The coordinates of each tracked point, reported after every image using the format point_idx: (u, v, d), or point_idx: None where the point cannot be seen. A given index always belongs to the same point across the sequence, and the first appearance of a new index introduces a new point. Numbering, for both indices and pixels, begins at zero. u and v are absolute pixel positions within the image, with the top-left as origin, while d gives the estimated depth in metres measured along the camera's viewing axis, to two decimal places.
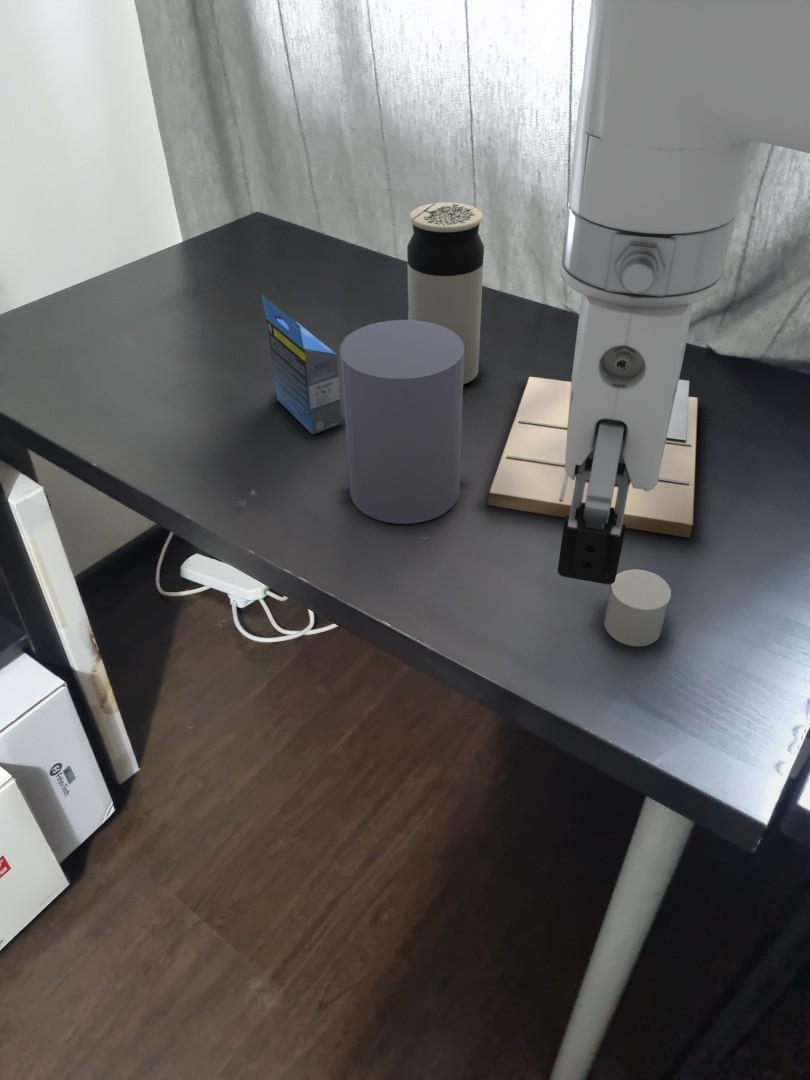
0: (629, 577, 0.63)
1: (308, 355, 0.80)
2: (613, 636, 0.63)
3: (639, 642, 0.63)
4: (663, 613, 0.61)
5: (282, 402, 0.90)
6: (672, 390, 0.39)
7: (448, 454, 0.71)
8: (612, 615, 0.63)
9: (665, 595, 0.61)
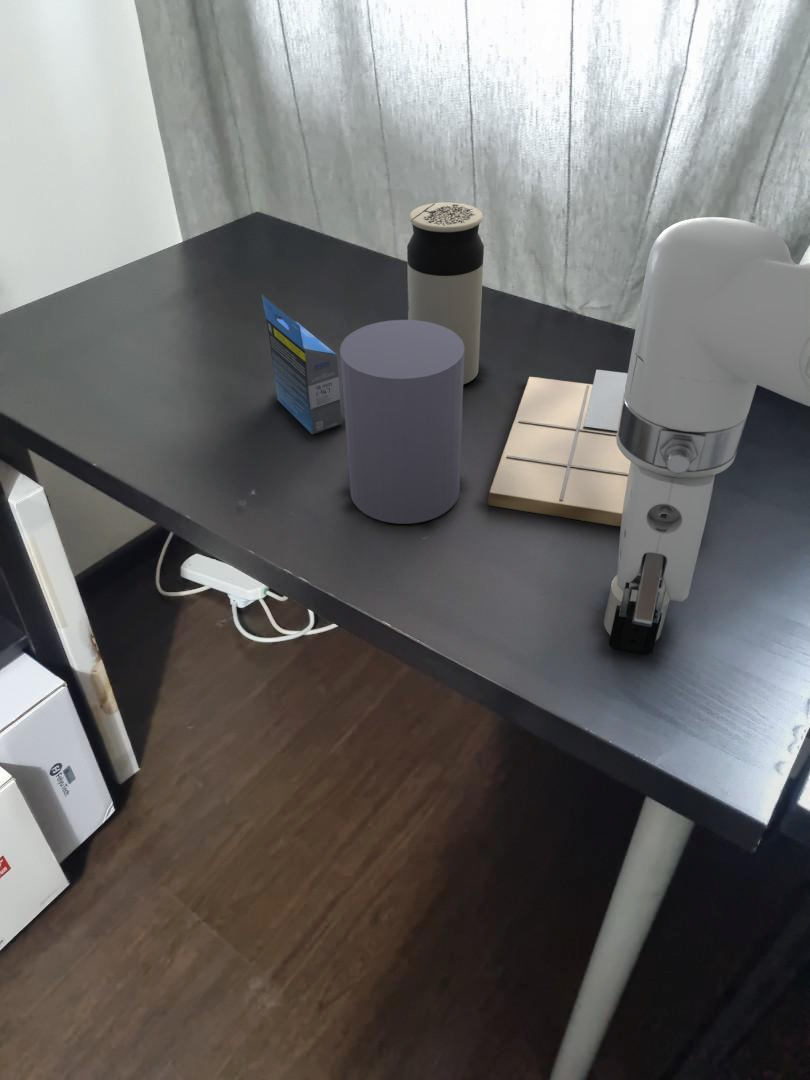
0: None
1: (308, 355, 0.80)
2: None
3: None
4: (663, 613, 0.61)
5: (282, 402, 0.90)
6: (701, 534, 0.52)
7: (448, 454, 0.71)
8: (612, 615, 0.63)
9: (665, 595, 0.61)
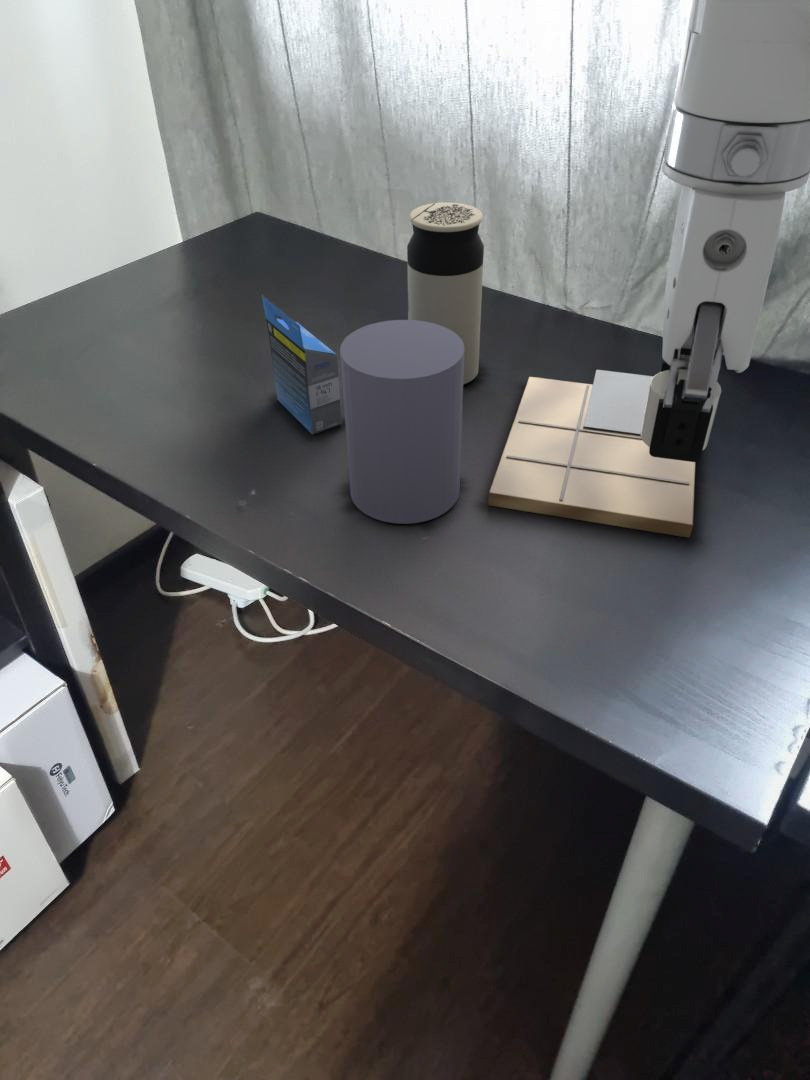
0: None
1: (308, 355, 0.80)
2: None
3: None
4: (712, 411, 0.52)
5: (282, 402, 0.90)
6: (769, 271, 0.43)
7: (448, 454, 0.71)
8: (652, 419, 0.54)
9: None
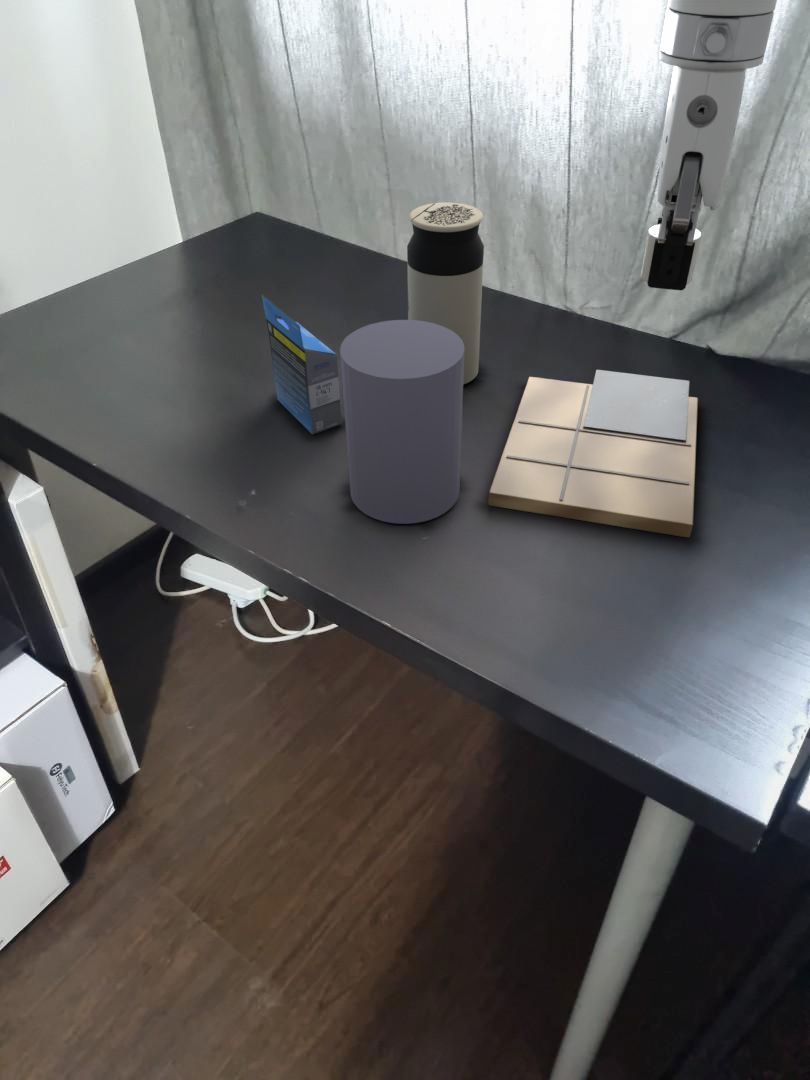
0: None
1: (308, 355, 0.80)
2: None
3: None
4: (694, 250, 0.70)
5: (282, 402, 0.90)
6: (733, 127, 0.61)
7: (448, 454, 0.71)
8: (649, 258, 0.71)
9: (696, 234, 0.70)
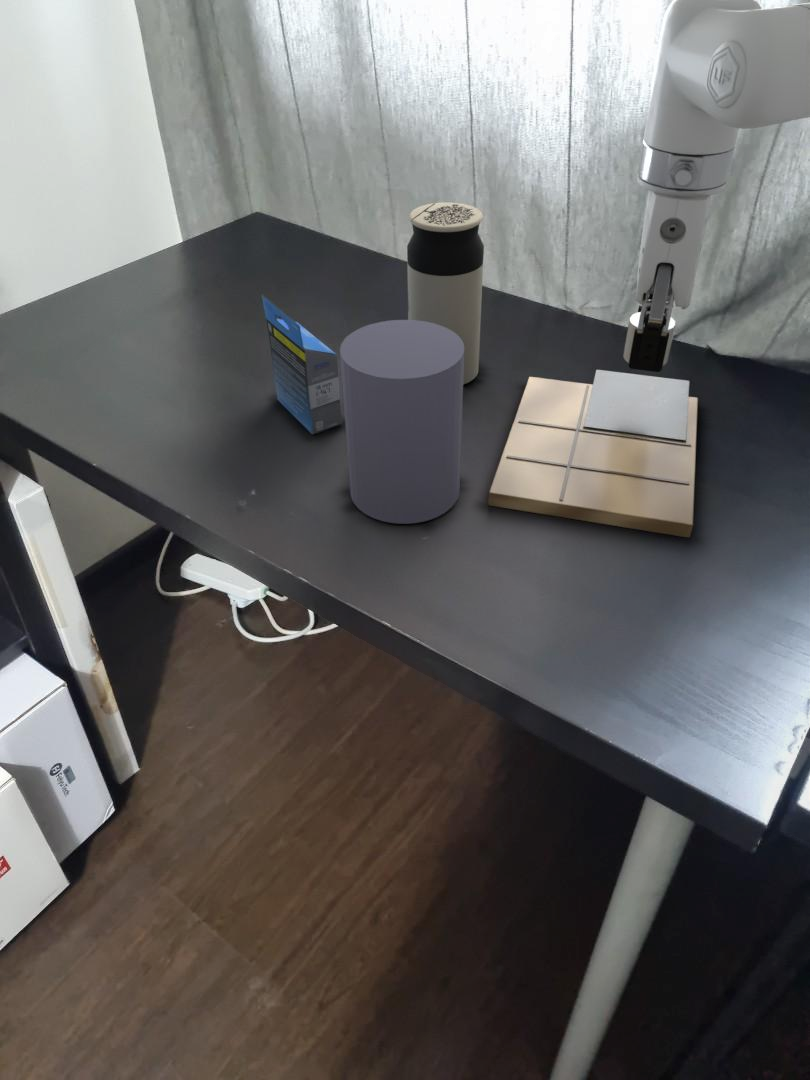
0: None
1: (307, 355, 0.80)
2: None
3: None
4: (669, 337, 0.80)
5: (282, 402, 0.90)
6: (699, 244, 0.71)
7: (448, 454, 0.71)
8: (630, 343, 0.81)
9: (671, 324, 0.80)
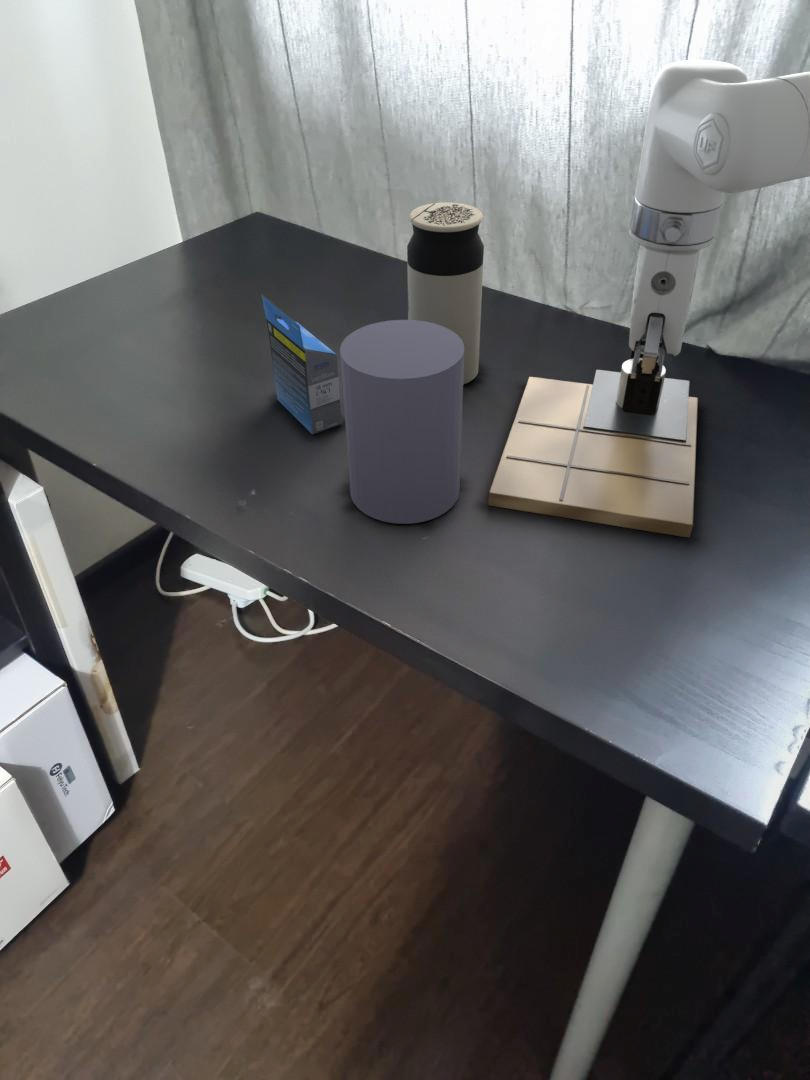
0: None
1: (308, 355, 0.80)
2: None
3: None
4: None
5: (282, 402, 0.90)
6: (689, 295, 0.74)
7: (448, 454, 0.71)
8: (622, 389, 0.85)
9: None
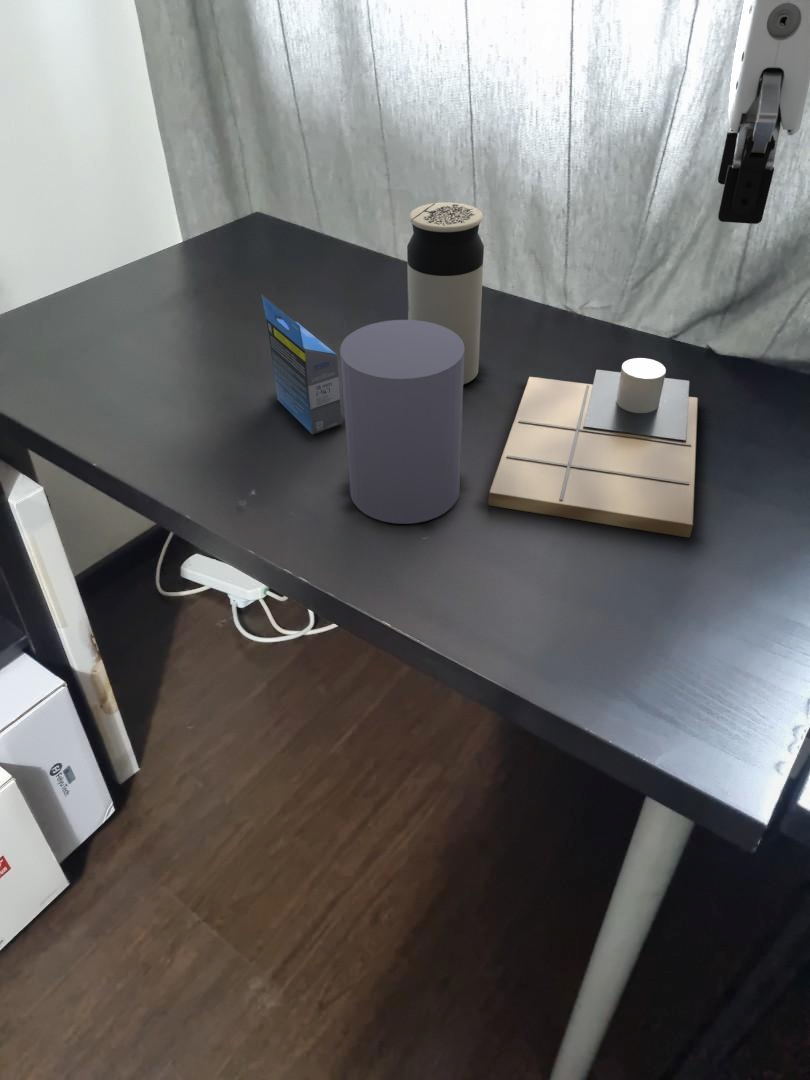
0: (634, 362, 0.85)
1: (308, 355, 0.80)
2: (623, 407, 0.85)
3: (642, 409, 0.85)
4: (660, 384, 0.83)
5: (282, 402, 0.90)
6: None
7: (448, 454, 0.71)
8: (622, 389, 0.85)
9: (661, 371, 0.83)
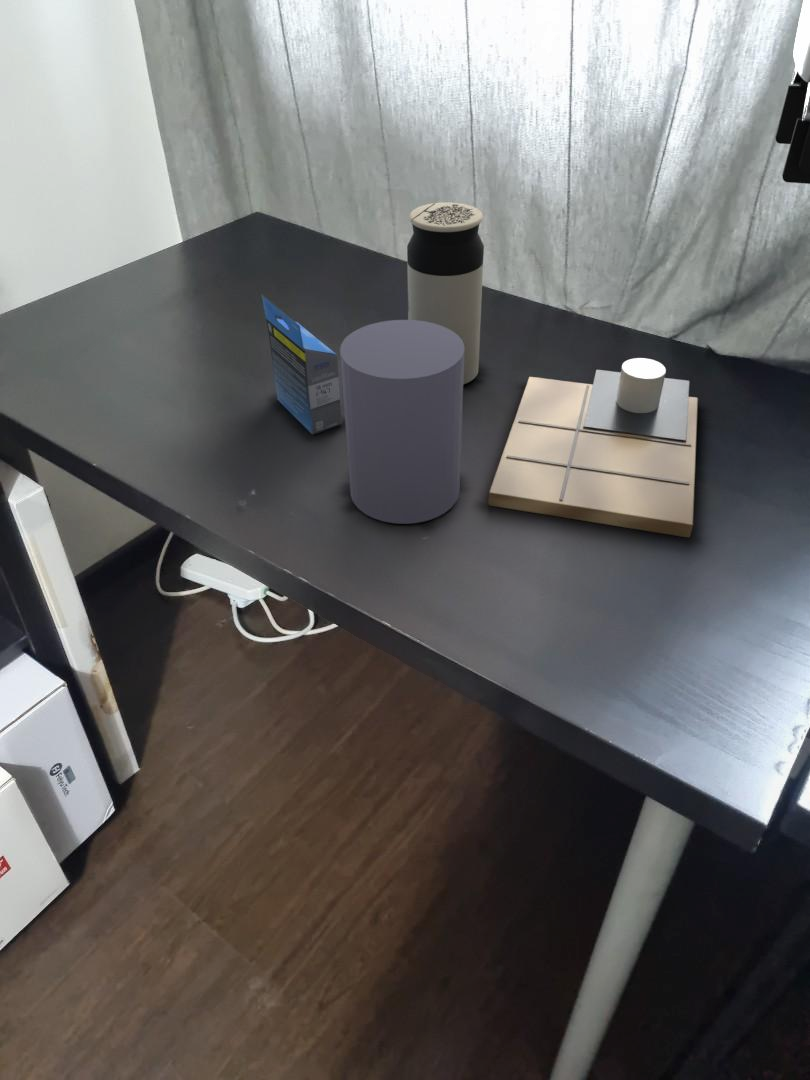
0: (634, 362, 0.85)
1: (308, 355, 0.80)
2: (623, 407, 0.85)
3: (642, 409, 0.85)
4: (660, 384, 0.83)
5: (282, 402, 0.90)
6: None
7: (448, 454, 0.71)
8: (622, 389, 0.85)
9: (661, 371, 0.83)
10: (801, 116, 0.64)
